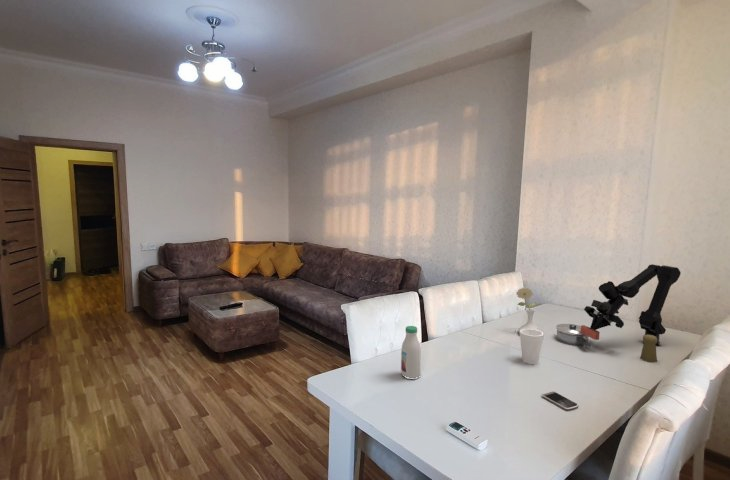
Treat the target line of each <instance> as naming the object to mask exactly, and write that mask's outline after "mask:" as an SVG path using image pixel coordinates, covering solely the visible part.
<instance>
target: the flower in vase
mask: <svg viewBox="0 0 730 480" xmlns="http://www.w3.org/2000/svg"><path fill="white" fill-rule="evenodd" d="M515 293H516V296H517V297H518V298H519V299H523V300H524V302H523V301H520V302H518V303H517V306H520V307H524V306H526V308H525V311H526V313H527V322H526V323H525V324H523V325H521V326H520V327H519V328H518V329H517V332H518V333H519V334H520V330H522V329H534V330H538V331H541V330H540V329H539V327H538V326H536V325H535V324H534V323H533V316H534V313H535V312H536V308H533V307H534V306H535V305H536V304H537V302H534V303H529V305H528V304H527V299H530V298H531V297H532V296H533V291H532V289H530V288H529V287H521V288H519V289H518V290H517V291H516V292H515Z"/></svg>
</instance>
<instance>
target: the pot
mask: <svg viewBox="0 0 730 480" xmlns="http://www.w3.org/2000/svg"><path fill="white" fill-rule="evenodd" d="M556 340H557V341H558V342H560V343H563V344H566V345H569V346H570V345H571V346H575V347H576V346H577V347H578V346H579V347H580V346H581V347H582V346H583V347H584V348H585V347H586V348H588V347H591V342H590V341H589V337H588V336H586V335H583V336H578V335H570V334H566V333H562V332H560V331H558V330H557V329H556Z"/></svg>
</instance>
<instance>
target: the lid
mask: <svg viewBox="0 0 730 480" xmlns="http://www.w3.org/2000/svg"><path fill="white" fill-rule="evenodd" d="M590 327H591V326H590ZM590 327H589V326H587V325H584V324H583V325H582V324H581V325H578V324H573V323H560V324H557V325H556V327H555V328H556V331H557V330H558V331H560V332H562V333H566V334H570V335H578V336H583V335H586V336H588V338H591V339H593V340H595V341H599V340H600V332H601V331H599V330H598V329H597V330H594V329H592V328H590Z"/></svg>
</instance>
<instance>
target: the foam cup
mask: <svg viewBox="0 0 730 480" xmlns="http://www.w3.org/2000/svg"><path fill="white" fill-rule="evenodd" d="M544 334H545V333H544V332H543V331H541V330H540V331H538V330H534V329H522V330H520V333H519V338H520V349H521V358H522V361H523V362H524V363H526V364H529V365H537V364H538V363H539V361H540V356H541V351H542V345H543V342H544V336H545V335H544Z"/></svg>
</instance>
